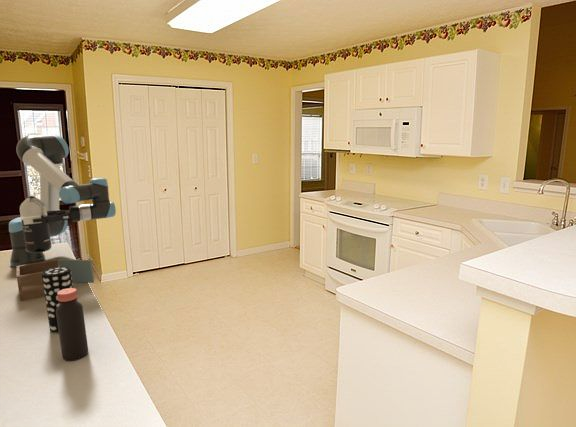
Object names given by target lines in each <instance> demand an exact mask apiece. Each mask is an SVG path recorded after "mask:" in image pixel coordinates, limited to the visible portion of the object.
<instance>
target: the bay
mask: <svg viewBox="0 0 576 427" xmlns="http://www.w3.org/2000/svg"><path fill="white" fill-rule="evenodd" d="M55 267H59V260H58V259H51V260H45V261H44V262H38V263H32V264H26V265H20V266H16V267H15V268H16V281H17V288H18V293H19V299H20V302H23V301H27V300H31V299H36V298H42V297H45V293H44V286H43V280H42V272H43V271H45V270H47V269H50V268H55Z"/></svg>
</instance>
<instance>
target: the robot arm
mask: <svg viewBox="0 0 576 427" xmlns="http://www.w3.org/2000/svg"><path fill="white" fill-rule="evenodd" d="M15 151H16V154H17V157H18V159H19V160H20V161H21V162H22V163H24V164H25V165H26V166H29V167H30V166H31V168H32V169H34V170H35V171H36V172H37V173H38V174H39V184H40V186H39V187H40V189H39V190H40V192H39V194H40V195H39V196H40V198H39V199H40V200H41V201H43V202H44V204H45V205H46V208H47V215H48V216H43V215H41V216H40V217H30V218H23V221H24V225H26V224H35V223H48V224H49V231H50V238H52V237H57V236H59V235H62V234H64V233H65V232H66V230H67V228H68V222H69V221H68V220H69V219H70V222H72V223H76V222H80V221H82V222H83V221H86V222H89V221H90V220H101V219H107V218H113V217H115V216H116V214H117V212H116V210H117V209H116V206H115V202H113V201H110V197H109V196H110V194H109V185H108V184H109V183H108V180H107V178H105V177H95V178H90V180H89V183H84V184H78V183H77V182H76V181H75V180H73V179H72V178H71V177H70V176H69V175H67V174H66V172H64V171H63V170H62V169H61V168H60V166H61V165H62V164H64V159H65V158H67V157H68V155H69V146H68V144H67V142H66V141H65V139H64V138H63V137H62V136H60V135H53V134H46V135H45V134H44V135H41V134H40V135H38V134H37V135H26V136H23V137H22V138H21V139H19V141H18V142H17V144H16V150H15ZM60 200H61V201H62V203H64V204H76V203H81V202H84V201H91V202H92V203H85V204H84V203H83V204H80V205H69V207H68V210H65V209H60ZM8 232H9V237H10V242H11V249H12V251H11V254H10V259H9V263H10V266H11V267H12V268H16V266H20V265H26V264H32V263H38V262H44V261H47V260H46V256H45V253H44V252H40V253H29V252H27V251H26V247H25V240H24V234H23V227H22V221H21V216H20V217H19V216H18V217H16V218H14V219H12V220H10V221H9V223H8Z"/></svg>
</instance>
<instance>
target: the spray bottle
mask: <svg viewBox="0 0 576 427" xmlns="http://www.w3.org/2000/svg"><path fill="white" fill-rule="evenodd" d="M19 213H20V217H21V221H22V227H23V234H24V240H25V247H26V251H27V252H29V253H40V252H43V253H44V252H47V251H50V250H51V249H52V239H51V238H52V237H50V231H49V224H48V223H35V224H26V225H24V221H23V218H30V217H40V216H41V215H43V216H48V215H47V208H46V205H45V204H44V202H43V201H41V200H40V198H38V197H36V196H35V195H29V196H28V197H27V198H26V199H25V200H23V202H21V204H20V205H19Z"/></svg>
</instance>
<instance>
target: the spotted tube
mask: <svg viewBox="0 0 576 427" xmlns="http://www.w3.org/2000/svg"><path fill="white" fill-rule="evenodd" d="M42 280H43V286H44V293H45V296H44V298H45V305H46V312H47V319H48V325H49V327H48V328H49V331H50V332H51V333H53V334H59V330H58V324H57V317H56V309H57V307H58V306H59V305H60V303H59V302H58V296H57V292H59V291H60V290H63V289H67V288H74V282H72V275H71V268H70V267H60V266H58V267H55V268H50V269H47V270H45V271H43V272H42Z"/></svg>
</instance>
